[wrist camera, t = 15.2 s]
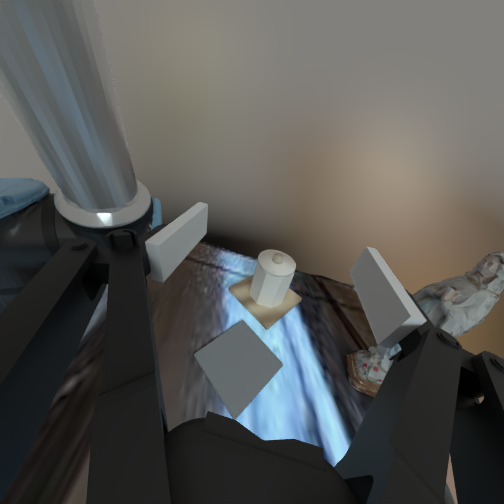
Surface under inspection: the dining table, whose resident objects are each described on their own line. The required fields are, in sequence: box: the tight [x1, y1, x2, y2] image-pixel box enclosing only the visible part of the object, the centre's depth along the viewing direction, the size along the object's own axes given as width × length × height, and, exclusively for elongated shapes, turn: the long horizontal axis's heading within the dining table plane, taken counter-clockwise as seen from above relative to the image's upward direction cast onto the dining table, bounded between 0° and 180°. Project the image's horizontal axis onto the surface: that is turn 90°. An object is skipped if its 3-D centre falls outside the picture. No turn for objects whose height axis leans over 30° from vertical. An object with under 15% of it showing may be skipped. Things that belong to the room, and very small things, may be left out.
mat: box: [194, 320, 283, 420], centre depth 34 cm, size 12×12×1 cm
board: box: [229, 275, 302, 330], centre depth 48 cm, size 14×14×1 cm
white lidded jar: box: [249, 250, 296, 308], centre depth 44 cm, size 9×9×12 cm
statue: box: [346, 252, 504, 397], centre depth 28 cm, size 8×7×30 cm
